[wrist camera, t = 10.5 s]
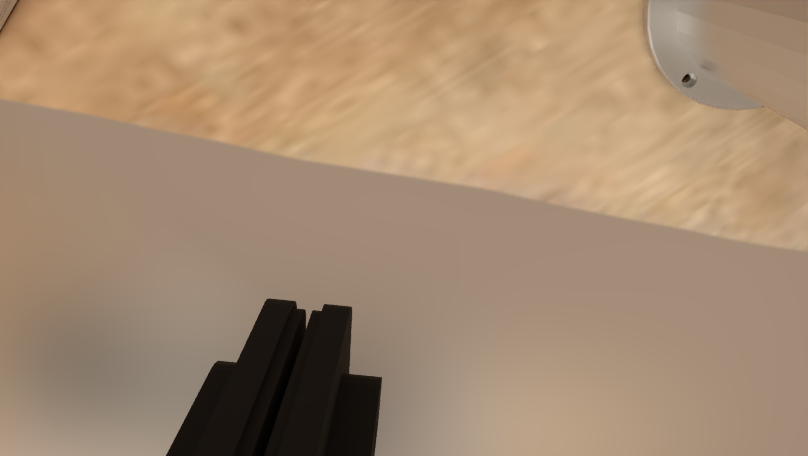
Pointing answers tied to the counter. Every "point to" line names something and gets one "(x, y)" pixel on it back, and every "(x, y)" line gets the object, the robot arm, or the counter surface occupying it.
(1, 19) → the skincare box
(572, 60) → the counter surface
